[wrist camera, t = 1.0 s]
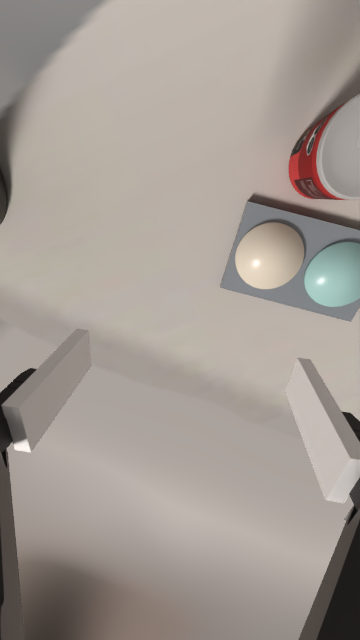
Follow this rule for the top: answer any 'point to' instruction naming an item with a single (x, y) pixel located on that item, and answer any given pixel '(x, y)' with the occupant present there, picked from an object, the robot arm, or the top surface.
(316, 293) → the pad
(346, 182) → the canned food
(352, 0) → the top surface
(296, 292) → the board
